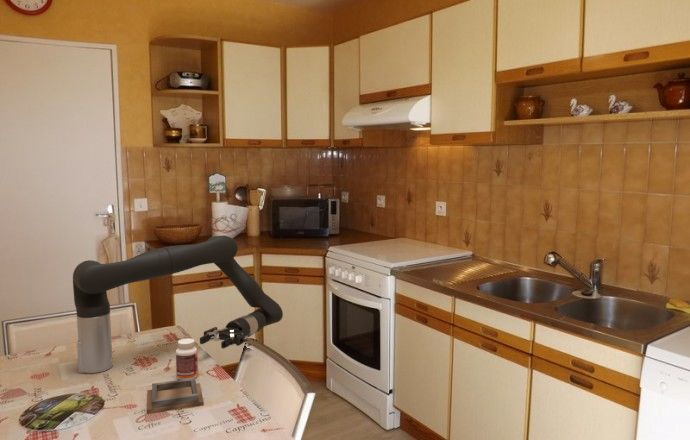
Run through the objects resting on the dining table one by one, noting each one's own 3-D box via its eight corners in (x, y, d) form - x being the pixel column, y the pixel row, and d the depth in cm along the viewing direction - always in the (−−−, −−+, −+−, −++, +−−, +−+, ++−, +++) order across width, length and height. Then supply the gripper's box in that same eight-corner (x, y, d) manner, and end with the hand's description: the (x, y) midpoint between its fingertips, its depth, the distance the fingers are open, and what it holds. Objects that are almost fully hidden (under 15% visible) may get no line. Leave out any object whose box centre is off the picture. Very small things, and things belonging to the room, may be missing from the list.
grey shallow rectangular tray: (146, 413, 132) (146, 403, 132) (147, 393, 144) (147, 383, 143) (203, 405, 137) (203, 395, 137) (199, 386, 148) (199, 376, 148)
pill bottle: (200, 378, 154) (199, 342, 153) (179, 383, 151) (178, 346, 149) (194, 370, 159) (193, 336, 158) (173, 375, 156) (172, 339, 154)
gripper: (225, 314, 181) (193, 328, 167) (259, 320, 175) (229, 335, 161) (225, 335, 182) (193, 351, 167) (259, 341, 176) (229, 358, 162)
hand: (211, 343), depth 164 cm, fingers open, 8 cm apart
